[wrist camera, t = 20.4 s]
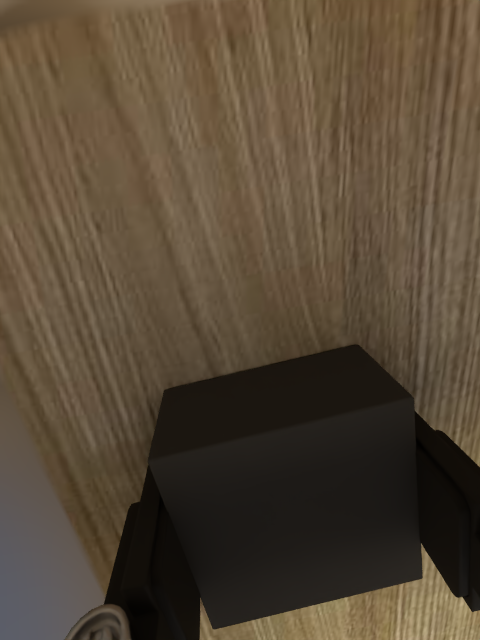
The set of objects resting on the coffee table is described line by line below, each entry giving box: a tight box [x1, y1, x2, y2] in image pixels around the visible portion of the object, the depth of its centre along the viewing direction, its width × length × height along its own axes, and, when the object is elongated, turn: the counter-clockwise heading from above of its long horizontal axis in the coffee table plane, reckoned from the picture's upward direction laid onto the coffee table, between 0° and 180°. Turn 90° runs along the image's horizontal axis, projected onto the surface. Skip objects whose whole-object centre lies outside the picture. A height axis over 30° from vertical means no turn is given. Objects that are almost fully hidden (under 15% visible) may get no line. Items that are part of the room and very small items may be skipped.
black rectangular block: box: [148, 345, 423, 629], centre depth 10 cm, size 6×6×3 cm
